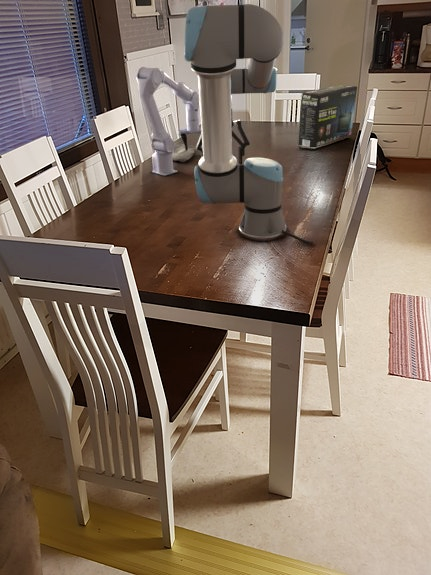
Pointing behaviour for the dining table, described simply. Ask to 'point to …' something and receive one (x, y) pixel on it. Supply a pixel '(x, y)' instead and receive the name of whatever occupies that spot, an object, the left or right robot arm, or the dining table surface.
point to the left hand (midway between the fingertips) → (194, 149)
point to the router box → (326, 115)
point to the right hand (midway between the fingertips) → (223, 166)
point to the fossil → (183, 152)
